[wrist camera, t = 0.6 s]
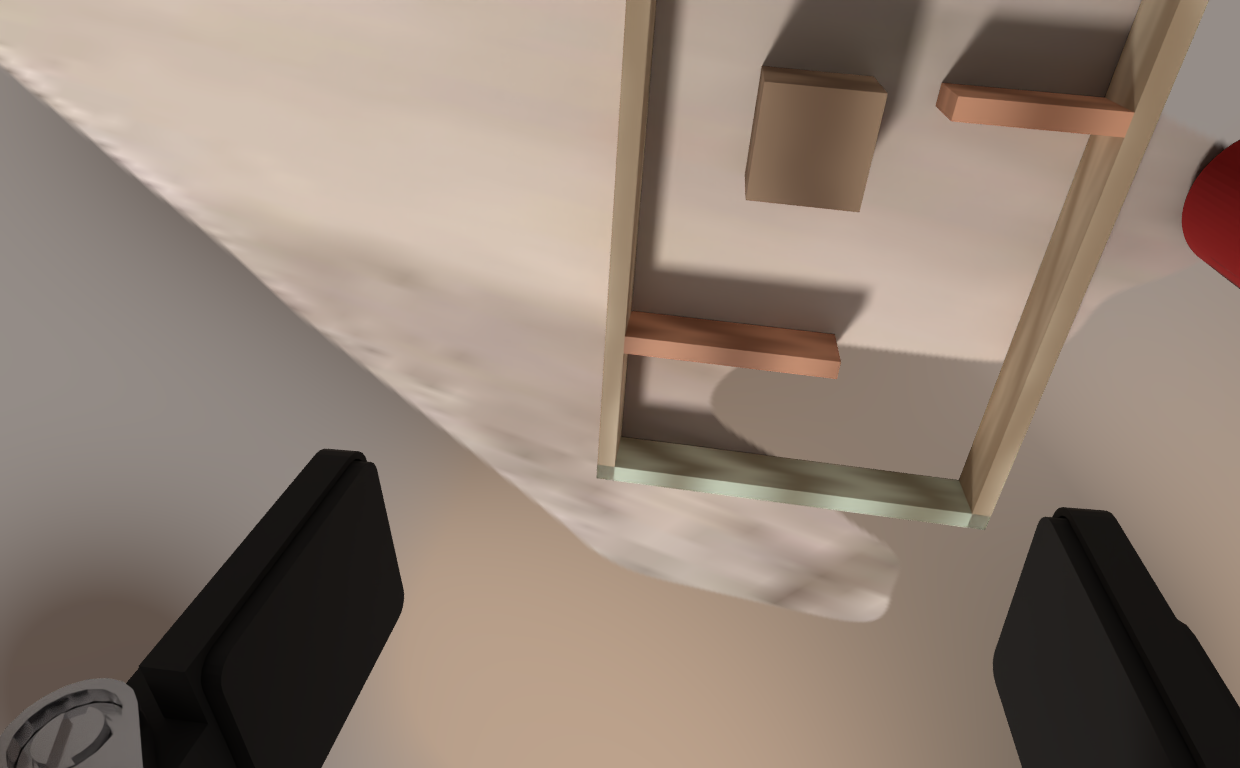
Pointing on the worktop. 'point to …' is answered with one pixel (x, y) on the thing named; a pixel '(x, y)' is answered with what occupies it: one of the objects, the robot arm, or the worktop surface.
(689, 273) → the worktop surface
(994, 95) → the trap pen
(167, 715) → the robot arm
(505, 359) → the worktop surface
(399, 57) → the worktop surface
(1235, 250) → the beverage can
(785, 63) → the worktop surface
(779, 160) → the block
